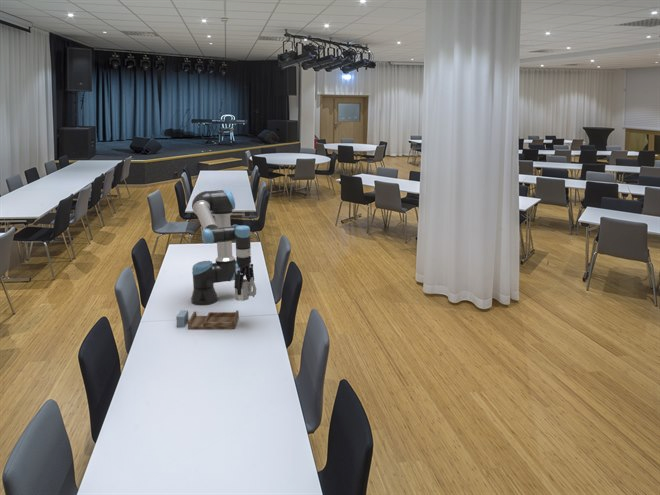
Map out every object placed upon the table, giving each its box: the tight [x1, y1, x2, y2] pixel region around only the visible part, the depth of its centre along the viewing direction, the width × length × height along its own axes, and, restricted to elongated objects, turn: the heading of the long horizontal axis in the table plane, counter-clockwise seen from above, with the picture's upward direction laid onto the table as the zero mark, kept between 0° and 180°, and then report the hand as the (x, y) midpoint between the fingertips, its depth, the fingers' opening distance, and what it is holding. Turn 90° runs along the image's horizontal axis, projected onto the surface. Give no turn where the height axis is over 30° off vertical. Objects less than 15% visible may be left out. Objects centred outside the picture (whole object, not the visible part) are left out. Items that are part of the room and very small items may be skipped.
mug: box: [234, 277, 257, 302], centre depth 287 cm, size 8×12×12 cm, turn 83°
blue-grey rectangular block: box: [175, 309, 190, 328], centre depth 290 cm, size 9×4×6 cm, turn 1°
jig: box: [187, 310, 240, 330], centre depth 290 cm, size 24×15×4 cm, turn 91°
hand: (245, 297), depth 287 cm, fingers closed on mug, 7 cm apart
